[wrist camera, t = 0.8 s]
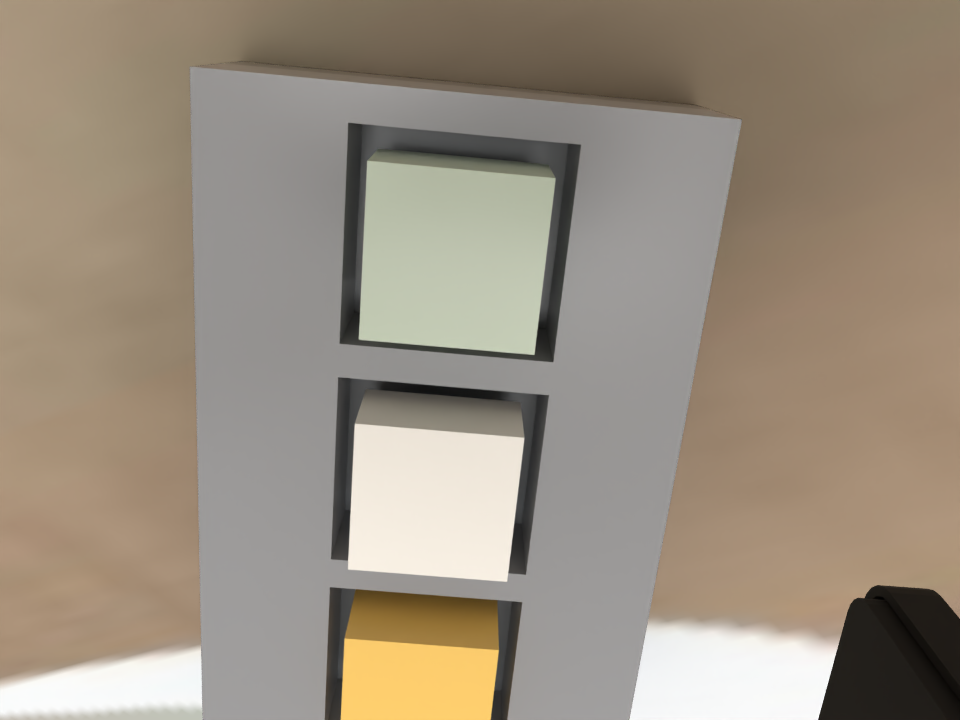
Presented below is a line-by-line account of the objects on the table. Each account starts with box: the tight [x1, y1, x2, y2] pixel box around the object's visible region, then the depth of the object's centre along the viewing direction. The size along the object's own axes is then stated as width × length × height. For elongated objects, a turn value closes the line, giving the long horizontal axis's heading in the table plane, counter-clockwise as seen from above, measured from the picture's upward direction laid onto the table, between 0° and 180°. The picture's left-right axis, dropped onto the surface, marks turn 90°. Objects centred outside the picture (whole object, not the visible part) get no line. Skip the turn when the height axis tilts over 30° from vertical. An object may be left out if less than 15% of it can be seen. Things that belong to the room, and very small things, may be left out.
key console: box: [190, 61, 742, 720], centre depth 28 cm, size 14×22×5 cm, turn 175°
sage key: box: [359, 149, 556, 355], centre depth 23 cm, size 5×5×2 cm
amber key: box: [341, 589, 499, 720], centre depth 28 cm, size 5×5×2 cm
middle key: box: [348, 389, 524, 582], centre depth 26 cm, size 5×5×2 cm
